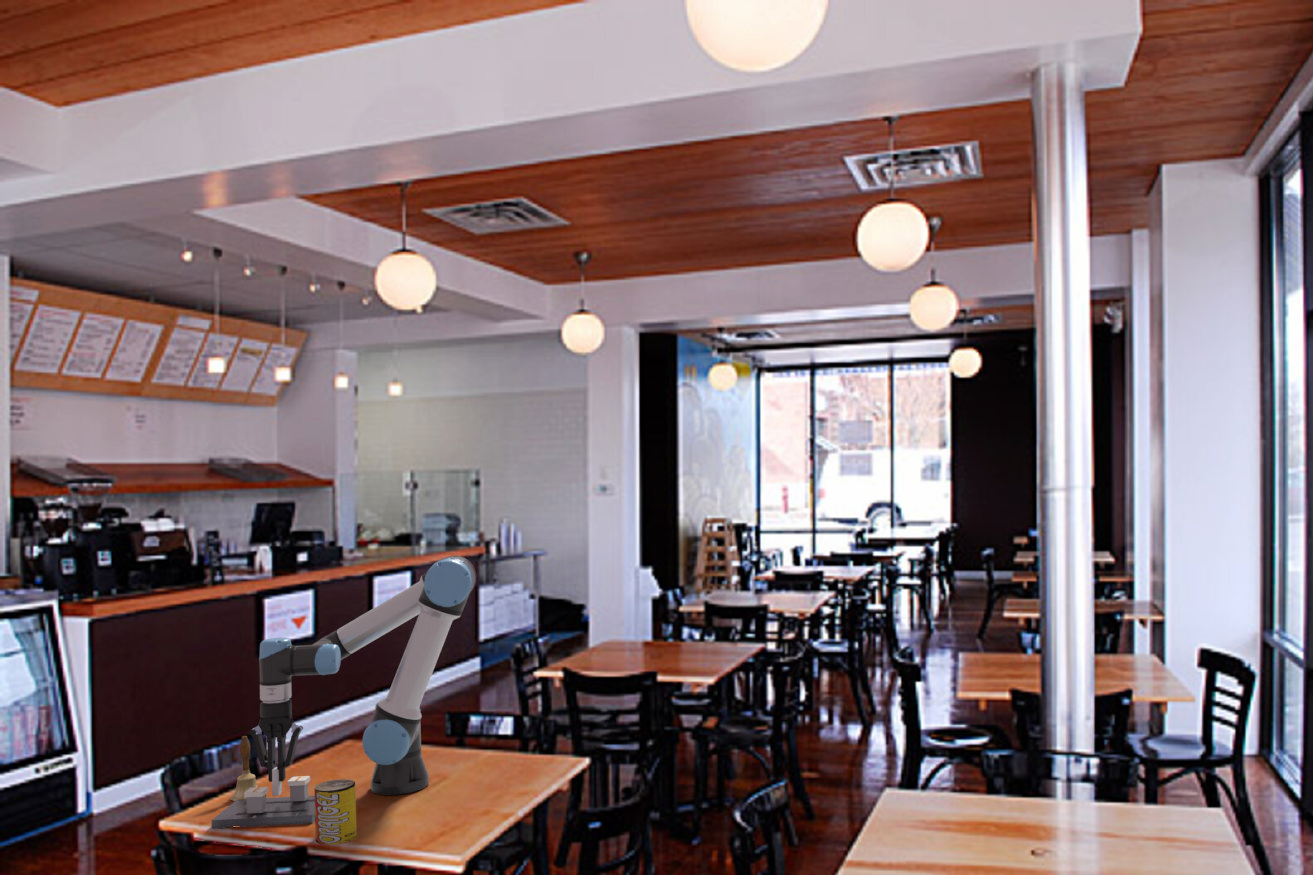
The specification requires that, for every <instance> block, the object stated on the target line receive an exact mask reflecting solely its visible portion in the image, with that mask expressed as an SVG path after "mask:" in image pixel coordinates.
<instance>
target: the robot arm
mask: <svg viewBox="0 0 1313 875" xmlns="http://www.w3.org/2000/svg"><path fill="white" fill-rule="evenodd" d="M476 582H477V572H476V569H475V567H474V565H473V563H471V561H470V560H468V559H467V558H465V557H463V556H459V555H451V556H450V555H449V556H446V557H444V558H441V559H440V560H438V561H436V562H434V563H433V564H432V565H431V566H430V568H429V569H428V570H427V571H426V573H424V574H423V575H421V576H420V579H419V581H418V582H416V583H414V584H412V585H411V586H409V587H408V588H406V589H405V590H403V591H401V592H399V593H397V594H396V595H394V596H392V597H391V598H388V599H387V600H386V601H384V602H382V603H380V604H379V605H377V606H375V607H374V608H372V609H370V610H369V611H367V612H365V613H363V614H361V615H359V616H358V617H356V618H355V619H354V620H351V621H350V622H348V623H346V624H345V625H343V626H341V627H340V628H337V629H336V630H334V631H333V632H331V633H328V634H327V635H325V636H323V637H321V638H320V639H319V640H317V641H316V642H314V643H313V644H307V645H306V644H305V645H293V644H292V642H291V638H289V637H272V638H271V637H270V638H266V639H264V640H262V641H261V642H260V644H259V658H258V661H259V662H258V663H259V700H260V701H261V702H260V703H259V716H260V719H259V722H258V725H257V726H255V727H253V728H252V729H250V730H249V731H248V732H249V734H250V736H251V737H252V739H253V742H254V746H255V750H256V753H257V758H258V762H259V765H260V767H261V768H266V769H267V770H268V772H267V773H268V776H267V778H268V782H269V783H271V786H272V788H271V792H272V794H271V795H272V797H280V795H281V794H282V793H283V782H284V781H285V780H286V778H287V777H286V767H289V766H291V765H292V764H293V763H294V759H295V754H296V751H297V746H298V740H299V737H300V734H301V732H302V731H303V730H304V727H303V726H302V725H297V724H296V723H295V720H294V718H293V717H292V716H293V709H292V708H293V705H292V704H293V703H292V699H291V698H292V696H293V694H292V693H293V692H292V677H295V676H296V677H297V676H314V675H315V676H316V675H317V676H318V675H320V676H321V675H322V676H326V675H334V674H337V673H338V671H339V670H340V667H341V661H342V660H343V659H345V658H347V657H349V656H350V655H352V654H353V653H355V652H357V651H359V650H360V649H361V648H364V647H366V646H367V645H369V644H370V643H372V642H374V641H375V640H377V639H379V638H380V637H382V636H385V635H386V634H388V633H389V632H391V631H392V630H394V629H396V628H398V627H399V626H401V625H403V624H404V623H406V622H408V621H410V620H411V619H413V618H415V617H416V616H418V617H417V619H416V621H415V624H414V627H413V629H412V632H411V634H410V638H408V639H409V640H408V642H407V645H406V647H405V649H404V652H403V655H402V658H401V660H400V663H399V665H398V668H397V670H396V673H395V676H394V678H393V680H392V683H391V686H390V688H389V691H388V693H387V696H386V697H384V698H383V699H381V700H379V701H378V702H376V704H375V706H374V708H375V710H374V713H373V714H372V717H371V721H370V722H369V724H368V726H367V727H366V728H365V730H364V731H363V735H362V740H361V741H362V742H361V744H362V745H361V746H362V748H363V751H364V754H365V755H366V756H367V758H368V759H369V760H371V761H372V762H373V763H375V766H374V769H373V771H372V775H371V776H372V777H371V780H370V791H371V792H372V793H373V794H377V795H384V796H385V795H386V796H392V795H393V796H396V795H405V794H410V793H414V792H418V791H420V790H424V789H425V788H427V787H428V786H429V783H430V776H429V772H428V768H427V767H426V764H425V761H424V758H423V755H422V734H421V732H422V731H421V719H422V716H423V715H422V713H421V711H422V709H421V706H420V705H421V703H422V700H423V698H424V697H425V692H426V690H427V687H428V685H429V682H430V680H431V677H432V676H433V672H434V670H435V667H436V665H437V663H438V660H439V657H440V654H441V652H442V649H443V646H444V645H445V642H446V639H447V636H448V633H449V631H450V628H451V625H452V624H453V621H454V620H456V619H459V618H460V617H461V616H462V613H463V612H464V608H465V606H466V604H467V602H468V599H469V596H470V594H471V592H472V590H473V589H474V587H475V585H476ZM290 730H291V731H290ZM289 731H290V732H291V737H290V741H289V745H288V748H287V747H286V743H287V742H286V740H287V734H288V733H289ZM262 732H263V734H264V735H265V737H266V745H267V746H266V747H265V743H264V739H263V736H262ZM276 742H277V747H276ZM276 748H277V749H276ZM266 749H267V752H266ZM287 749H288V750H287ZM276 750H277V753H276ZM286 750H287V751H286ZM276 754H277V757H276ZM276 758H277V759H276ZM276 760H277V762H276ZM426 786H427V787H426ZM417 790H418V791H417Z"/></svg>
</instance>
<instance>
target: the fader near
mask: <svg viewBox="0 0 1313 875" xmlns="http://www.w3.org/2000/svg"><path fill="white" fill-rule="evenodd" d="M257 786H258V787H254V788H249V789H248V790H247V791H246V792H244V798H247V814H248V813H262V812H263V811H265V810H266V798H267V794H268V793H269V786H259V785H257Z"/></svg>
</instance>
